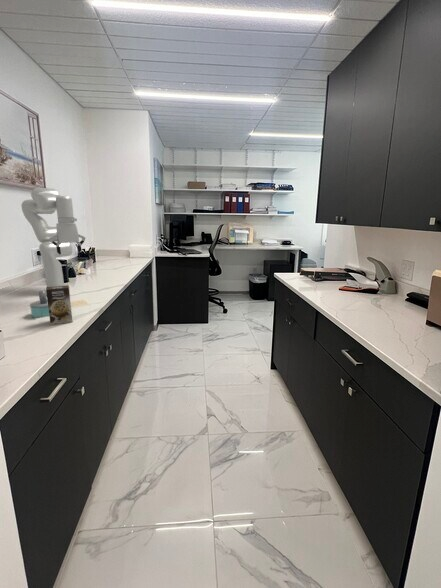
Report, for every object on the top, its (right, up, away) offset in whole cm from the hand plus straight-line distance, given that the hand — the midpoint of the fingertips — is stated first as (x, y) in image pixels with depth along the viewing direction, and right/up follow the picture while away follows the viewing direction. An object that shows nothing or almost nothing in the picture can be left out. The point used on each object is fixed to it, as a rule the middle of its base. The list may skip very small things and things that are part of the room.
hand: (69, 253), depth 165 cm
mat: (+3, -28, +1) cm, 28 cm away
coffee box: (+9, -35, -25) cm, 44 cm away
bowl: (-4, -32, -15) cm, 35 cm away
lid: (-4, -27, -17) cm, 32 cm away
